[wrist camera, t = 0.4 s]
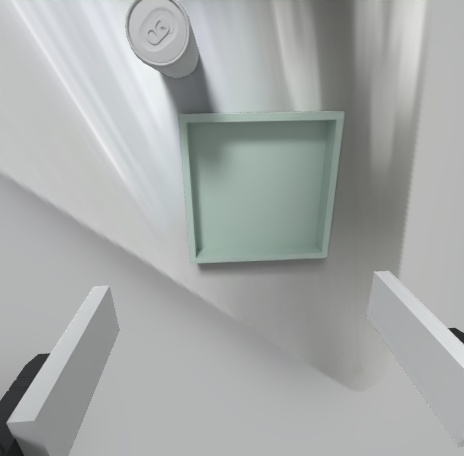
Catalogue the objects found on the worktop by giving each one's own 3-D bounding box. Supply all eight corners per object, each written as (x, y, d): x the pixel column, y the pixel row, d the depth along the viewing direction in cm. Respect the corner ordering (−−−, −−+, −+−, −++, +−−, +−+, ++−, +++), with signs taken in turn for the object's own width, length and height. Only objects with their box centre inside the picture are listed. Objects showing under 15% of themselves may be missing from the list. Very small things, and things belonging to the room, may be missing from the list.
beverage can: (208, 58, 33) (205, 35, 22) (176, 89, 34) (157, 82, 23) (177, 17, 31) (157, -30, 20) (144, 51, 32) (108, 24, 21)
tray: (181, 113, 35) (178, 114, 32) (333, 110, 36) (344, 111, 32) (192, 251, 42) (190, 263, 39) (318, 246, 43) (327, 257, 39)
